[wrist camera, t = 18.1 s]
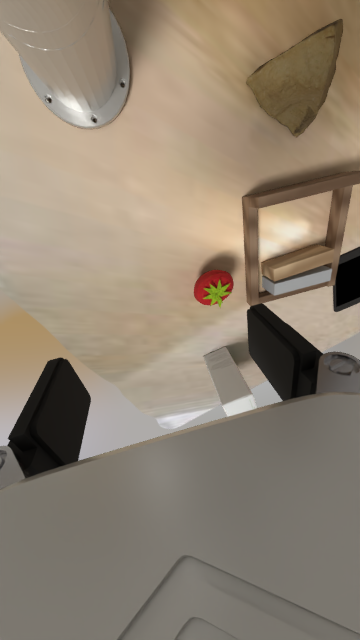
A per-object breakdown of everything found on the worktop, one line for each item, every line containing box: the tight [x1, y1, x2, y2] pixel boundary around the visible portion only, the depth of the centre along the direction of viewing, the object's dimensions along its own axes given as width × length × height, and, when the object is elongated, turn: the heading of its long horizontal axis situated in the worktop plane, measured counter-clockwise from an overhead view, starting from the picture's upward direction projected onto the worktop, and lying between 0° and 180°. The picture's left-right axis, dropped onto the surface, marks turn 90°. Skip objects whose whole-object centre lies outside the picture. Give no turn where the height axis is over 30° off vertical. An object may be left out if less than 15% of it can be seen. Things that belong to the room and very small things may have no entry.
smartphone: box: [333, 247, 360, 312], centre depth 51 cm, size 7×15×1 cm, turn 22°
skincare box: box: [203, 347, 257, 417], centre depth 50 cm, size 8×7×16 cm
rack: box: [242, 171, 360, 306], centre depth 42 cm, size 21×19×6 cm
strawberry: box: [194, 270, 234, 307], centre depth 40 cm, size 6×8×10 cm
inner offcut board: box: [261, 244, 334, 282], centre depth 44 cm, size 2×12×5 cm, turn 106°
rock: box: [246, 19, 343, 137], centre depth 30 cm, size 11×9×10 cm
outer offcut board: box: [262, 265, 332, 296], centre depth 46 cm, size 2×12×5 cm, turn 101°
